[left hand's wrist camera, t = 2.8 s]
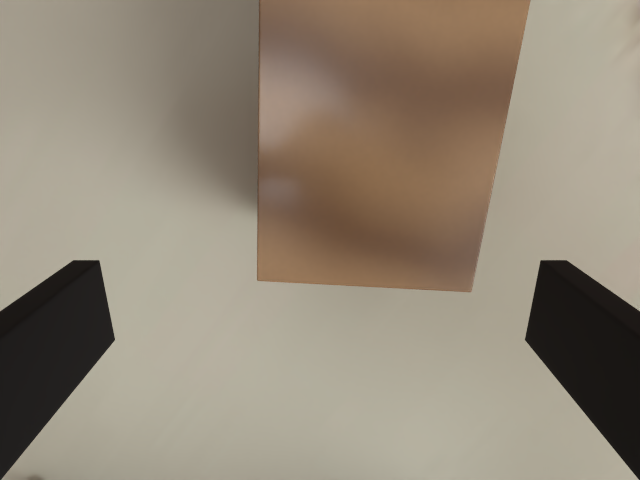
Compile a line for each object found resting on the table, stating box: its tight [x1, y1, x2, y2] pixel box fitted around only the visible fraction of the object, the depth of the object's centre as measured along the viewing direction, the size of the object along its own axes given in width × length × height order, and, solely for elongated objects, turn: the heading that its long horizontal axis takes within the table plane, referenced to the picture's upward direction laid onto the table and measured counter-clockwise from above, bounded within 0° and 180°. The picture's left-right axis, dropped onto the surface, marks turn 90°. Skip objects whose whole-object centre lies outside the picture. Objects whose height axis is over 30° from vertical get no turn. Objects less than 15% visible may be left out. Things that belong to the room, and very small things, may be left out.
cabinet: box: [257, 0, 530, 292], centre depth 21 cm, size 20×11×10 cm, turn 177°
